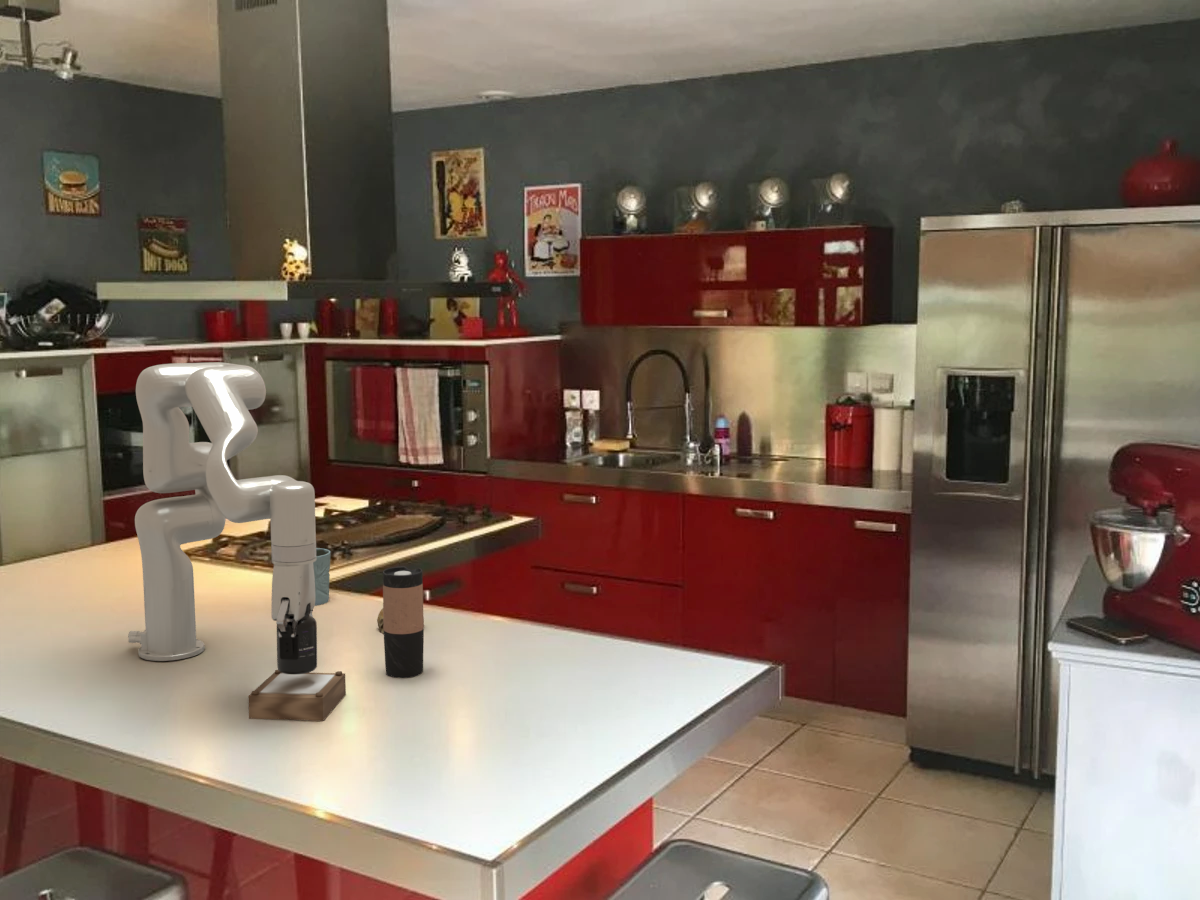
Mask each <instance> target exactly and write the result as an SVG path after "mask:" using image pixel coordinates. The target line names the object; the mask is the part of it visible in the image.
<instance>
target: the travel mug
mask: <svg viewBox="0 0 1200 900" xmlns="http://www.w3.org/2000/svg"><path fill="white" fill-rule="evenodd" d="M423 581H424V580H423V569H422V568H420V567H416V568H415V569H409V568H407V567H406V566H393V567H390V568H385V569H384V570H383V572H382V602H383V603H382V608H383V630H384V634H383V644H384V647H383V648H384V663H385V664H384V666H385V674H386V675H387V677H391V678H395V679H396V678H399V679H405V678H406V679H407V678H414V677H418V676H419V675H421V674H422V673H423V672H424V637H425V635H424V633H425V629H424V628H425V623H424V622H425V620H424V619H425V618H424V591H423V590H424V588H423V587H424V586H423V585H424V584H423Z"/></svg>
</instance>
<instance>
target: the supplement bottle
mask: <svg viewBox="0 0 1200 900" xmlns="http://www.w3.org/2000/svg"><path fill="white" fill-rule="evenodd" d="M310 613H311V603H309V604H307V606H306V613H305V616H304V617H303V618H302V619H300V620H299V621H298V626H297V634H296V636H299V658H298V659H297V660H288V659H281V658H280V642H279V630H278V626H277V625H276V663H277V664H276V666H277V668H276V669H277V670H279V671H280V672H281V673H284V674H291V675H296V674H305V673H309V672H310V673H313V672H314V671H315V670H316V669H317V667H318V632H317V631H318V630H317V628H318V627H317V625H318V624H317V620H316V618H315V617H314V616H313V617H312V616H310ZM293 618H294V616H287V619H293ZM292 624H293V623H287V625H290V627H291V629H292Z"/></svg>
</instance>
